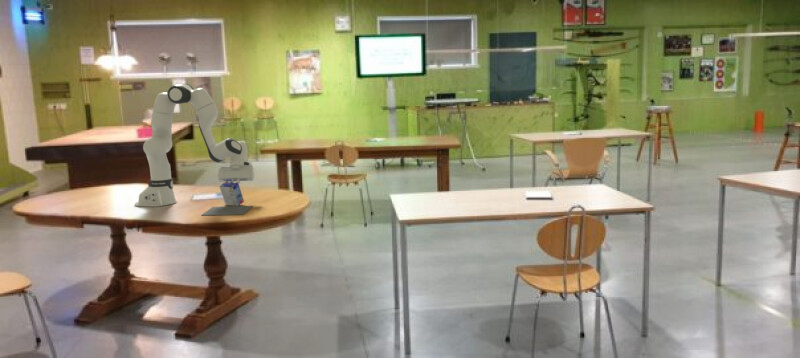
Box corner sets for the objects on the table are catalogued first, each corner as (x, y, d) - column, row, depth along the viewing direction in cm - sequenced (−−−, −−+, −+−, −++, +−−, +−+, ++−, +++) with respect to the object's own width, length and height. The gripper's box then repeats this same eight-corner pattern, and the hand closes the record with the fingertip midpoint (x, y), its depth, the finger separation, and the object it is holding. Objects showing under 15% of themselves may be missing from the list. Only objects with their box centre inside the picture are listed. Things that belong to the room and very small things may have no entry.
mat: (201, 215, 334) (201, 214, 334) (212, 207, 354) (212, 206, 354) (243, 214, 334) (243, 213, 334) (252, 206, 354) (252, 205, 353)
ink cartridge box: (245, 201, 359) (237, 178, 353) (239, 206, 355) (231, 183, 348) (231, 200, 364) (223, 177, 357) (225, 205, 359) (217, 182, 352)
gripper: (218, 163, 364) (214, 183, 356) (253, 162, 363) (251, 182, 355) (220, 170, 369) (217, 190, 361) (256, 169, 369) (253, 189, 361)
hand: (234, 186), depth 358 cm, fingers closed
